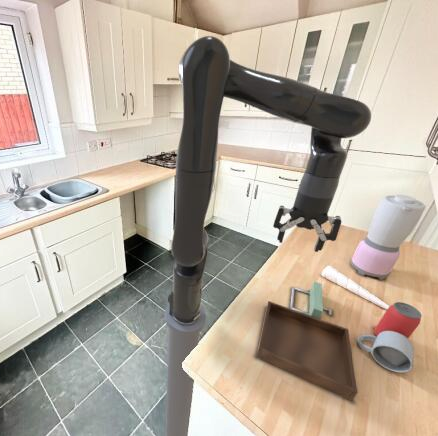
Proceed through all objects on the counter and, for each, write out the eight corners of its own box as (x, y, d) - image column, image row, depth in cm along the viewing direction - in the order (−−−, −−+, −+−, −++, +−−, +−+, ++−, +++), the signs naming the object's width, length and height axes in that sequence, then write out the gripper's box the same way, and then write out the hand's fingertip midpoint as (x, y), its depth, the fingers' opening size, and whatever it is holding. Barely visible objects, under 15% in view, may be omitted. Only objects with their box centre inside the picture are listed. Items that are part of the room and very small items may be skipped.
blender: (392, 284, 91) (439, 208, 76) (352, 274, 96) (388, 201, 81) (380, 260, 104) (418, 191, 88) (345, 253, 109) (376, 186, 93)
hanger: (289, 312, 81) (293, 301, 79) (292, 286, 92) (295, 275, 89) (332, 327, 76) (337, 316, 73) (329, 297, 86) (334, 287, 84)
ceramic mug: (407, 357, 67) (420, 339, 63) (404, 378, 62) (418, 360, 59) (359, 333, 74) (369, 315, 70) (353, 350, 69) (363, 332, 66)
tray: (256, 356, 68) (258, 348, 66) (266, 308, 83) (268, 300, 81) (351, 400, 58) (357, 392, 56) (343, 336, 73) (348, 329, 71)
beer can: (385, 326, 76) (404, 298, 70) (409, 345, 70) (431, 317, 64) (367, 329, 75) (385, 302, 69) (390, 349, 69) (411, 321, 63)
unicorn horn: (394, 321, 77) (401, 310, 75) (318, 276, 96) (322, 267, 94) (401, 315, 79) (408, 305, 77) (325, 272, 98) (329, 263, 95)
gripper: (282, 191, 59) (268, 245, 67) (354, 202, 53) (329, 261, 61) (284, 181, 65) (271, 232, 73) (350, 191, 59) (328, 246, 66)
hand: (297, 245), depth 67 cm, fingers open, 8 cm apart
